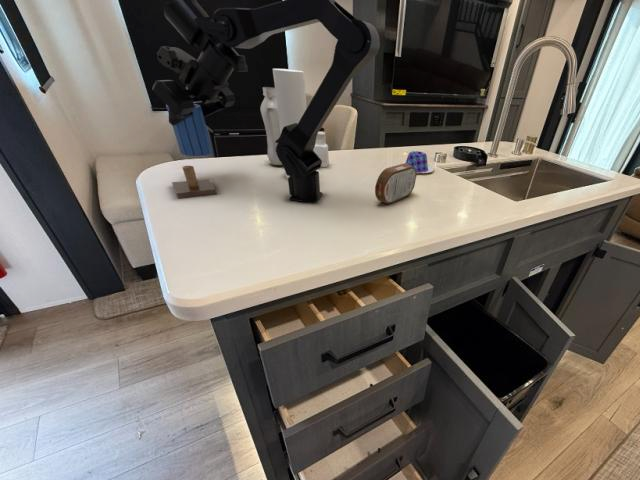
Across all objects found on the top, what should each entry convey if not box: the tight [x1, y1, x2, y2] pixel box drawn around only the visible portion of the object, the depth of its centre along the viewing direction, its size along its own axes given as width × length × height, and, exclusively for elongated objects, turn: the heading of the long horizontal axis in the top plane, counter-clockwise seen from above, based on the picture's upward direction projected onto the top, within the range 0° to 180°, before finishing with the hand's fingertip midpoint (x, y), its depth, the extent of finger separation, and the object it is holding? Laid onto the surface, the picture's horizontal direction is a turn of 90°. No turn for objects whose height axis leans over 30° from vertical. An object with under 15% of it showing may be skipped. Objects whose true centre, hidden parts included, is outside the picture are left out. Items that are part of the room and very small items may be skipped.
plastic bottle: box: [259, 86, 283, 166], centre depth 94 cm, size 6×7×20 cm
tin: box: [374, 162, 418, 205], centre depth 82 cm, size 15×3×8 cm, turn 145°
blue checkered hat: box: [398, 150, 435, 174], centre depth 107 cm, size 12×12×5 cm
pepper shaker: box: [313, 131, 330, 168], centre depth 100 cm, size 4×4×10 cm
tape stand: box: [171, 165, 217, 199], centre depth 76 cm, size 8×8×6 cm
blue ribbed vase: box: [165, 103, 213, 157], centre depth 76 cm, size 7×7×10 cm
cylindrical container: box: [272, 68, 308, 179], centre depth 85 cm, size 7×7×25 cm
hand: (183, 121), depth 75 cm, fingers closed on blue ribbed vase, 7 cm apart
